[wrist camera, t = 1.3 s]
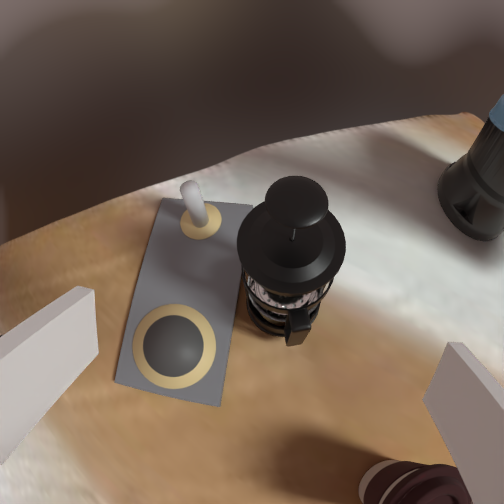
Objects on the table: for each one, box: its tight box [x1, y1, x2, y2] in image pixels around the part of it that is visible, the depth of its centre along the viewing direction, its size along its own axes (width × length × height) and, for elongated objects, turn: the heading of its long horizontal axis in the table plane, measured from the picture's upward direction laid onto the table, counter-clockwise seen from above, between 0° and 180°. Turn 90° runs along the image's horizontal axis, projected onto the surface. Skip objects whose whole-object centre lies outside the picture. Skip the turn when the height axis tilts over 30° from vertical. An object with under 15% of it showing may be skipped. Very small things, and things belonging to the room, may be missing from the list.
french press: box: [237, 176, 346, 346], centre depth 31 cm, size 12×9×23 cm
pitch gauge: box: [115, 180, 253, 407], centre depth 39 cm, size 14×28×9 cm, turn 172°
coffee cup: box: [359, 460, 472, 504], centre depth 23 cm, size 10×10×15 cm
